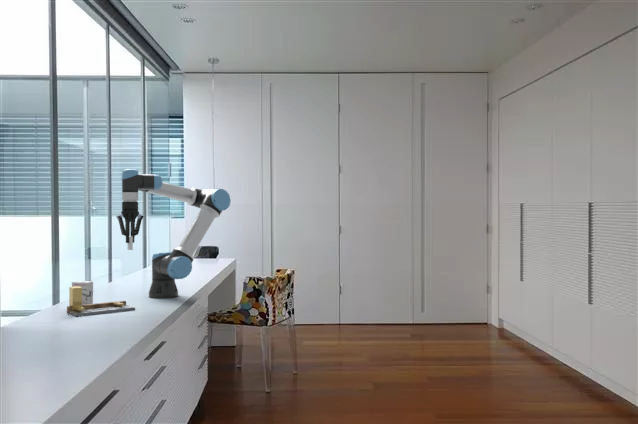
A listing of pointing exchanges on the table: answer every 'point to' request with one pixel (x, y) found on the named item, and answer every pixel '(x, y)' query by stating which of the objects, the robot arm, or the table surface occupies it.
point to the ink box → (85, 291)
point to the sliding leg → (75, 298)
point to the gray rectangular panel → (101, 310)
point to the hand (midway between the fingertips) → (130, 249)
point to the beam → (100, 305)
